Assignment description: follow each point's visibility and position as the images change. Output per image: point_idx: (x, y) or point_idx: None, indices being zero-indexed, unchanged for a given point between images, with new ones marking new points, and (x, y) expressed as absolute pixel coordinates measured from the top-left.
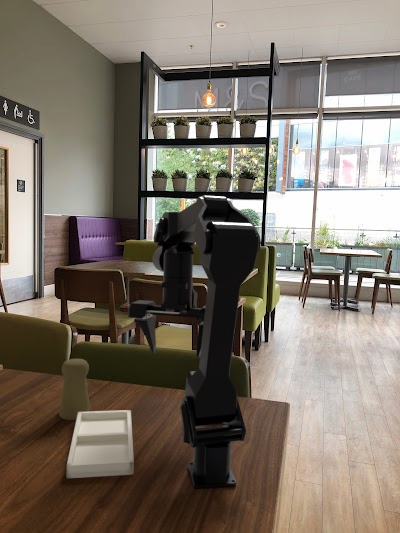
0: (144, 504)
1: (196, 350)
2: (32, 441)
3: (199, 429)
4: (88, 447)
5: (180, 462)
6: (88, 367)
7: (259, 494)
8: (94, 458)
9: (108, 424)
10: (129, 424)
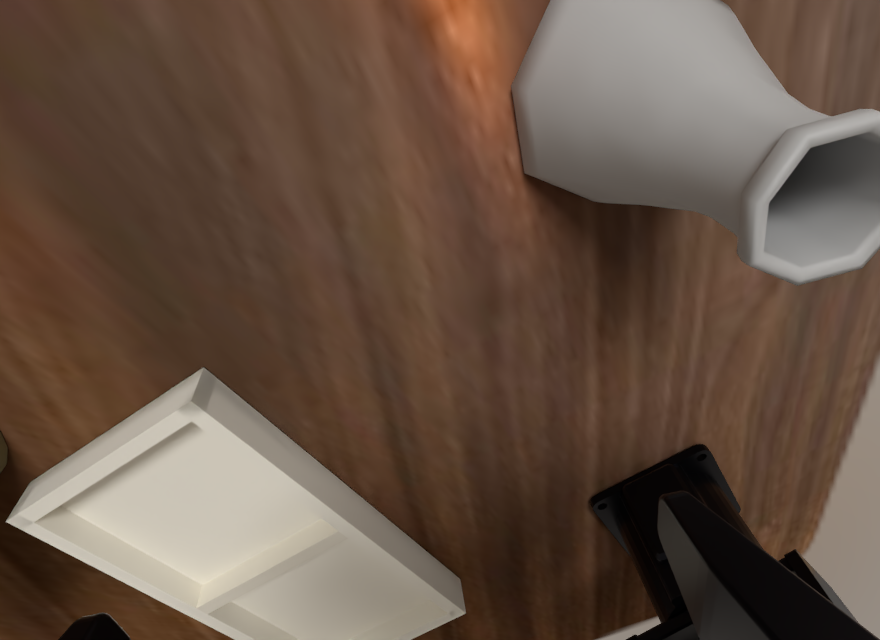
0: (539, 620)
1: (701, 637)
2: (61, 613)
3: (685, 634)
4: (267, 589)
5: (558, 492)
6: None
7: (793, 500)
8: (330, 607)
9: (186, 476)
10: (299, 494)
